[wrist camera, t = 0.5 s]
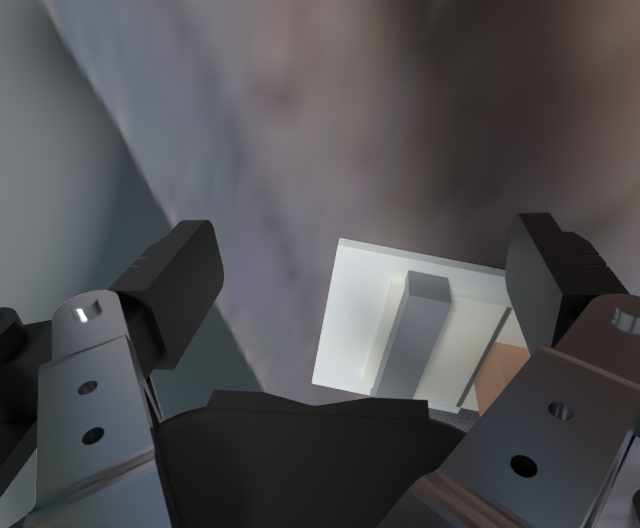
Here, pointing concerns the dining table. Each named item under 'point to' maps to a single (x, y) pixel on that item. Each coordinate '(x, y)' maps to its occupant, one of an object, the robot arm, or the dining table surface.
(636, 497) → the coffee mug
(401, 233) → the dining table surface
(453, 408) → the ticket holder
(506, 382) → the tan block on plate
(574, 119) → the dining table surface
